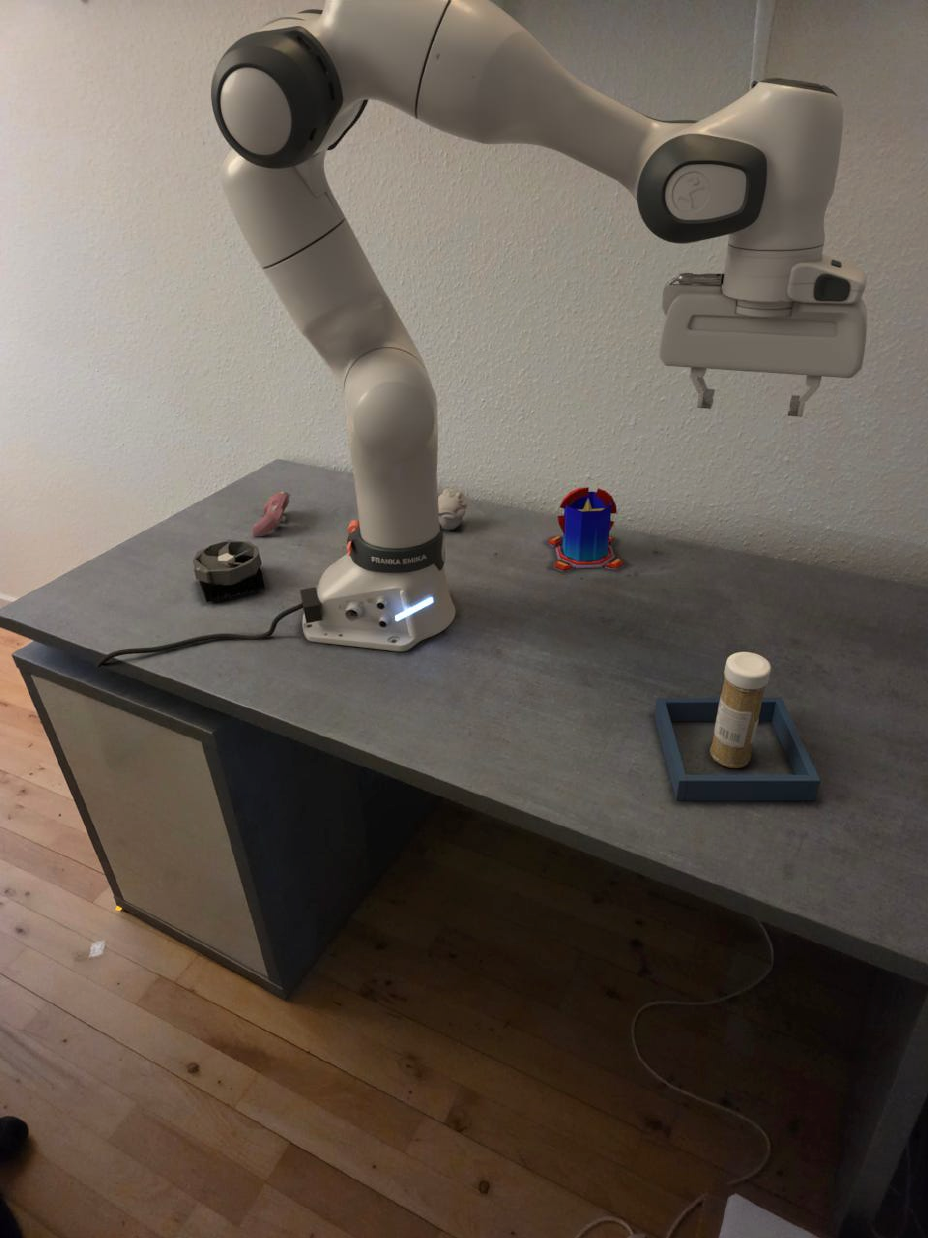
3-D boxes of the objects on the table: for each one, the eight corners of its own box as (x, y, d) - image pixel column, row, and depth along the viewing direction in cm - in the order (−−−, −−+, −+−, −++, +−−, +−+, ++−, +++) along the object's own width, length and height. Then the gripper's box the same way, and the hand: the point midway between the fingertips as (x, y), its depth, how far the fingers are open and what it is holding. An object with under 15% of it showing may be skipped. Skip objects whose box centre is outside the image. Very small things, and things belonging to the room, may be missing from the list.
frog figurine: (475, 525, 141) (474, 489, 137) (449, 540, 137) (447, 503, 133) (449, 516, 144) (448, 480, 141) (423, 530, 140) (421, 494, 136)
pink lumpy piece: (274, 545, 140) (286, 513, 137) (249, 535, 139) (261, 502, 136) (285, 520, 149) (297, 489, 145) (262, 510, 147) (273, 479, 144)
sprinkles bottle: (758, 759, 90) (781, 665, 83) (731, 775, 88) (752, 681, 81) (727, 737, 94) (746, 645, 86) (700, 752, 91) (717, 659, 84)
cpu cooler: (251, 533, 129) (265, 561, 121) (257, 564, 132) (271, 592, 124) (186, 547, 125) (196, 577, 118) (194, 578, 128) (204, 609, 121)
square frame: (675, 800, 86) (679, 780, 84) (654, 716, 97) (656, 697, 95) (814, 800, 85) (820, 780, 83) (776, 716, 96) (781, 697, 95)
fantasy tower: (613, 535, 136) (619, 470, 129) (627, 570, 126) (633, 501, 120) (545, 538, 136) (547, 473, 129) (553, 573, 126) (556, 504, 120)
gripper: (658, 278, 80) (647, 411, 87) (882, 284, 72) (848, 429, 80) (670, 266, 84) (659, 393, 92) (881, 271, 77) (850, 409, 85)
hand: (749, 410), depth 86 cm, fingers open, 8 cm apart
